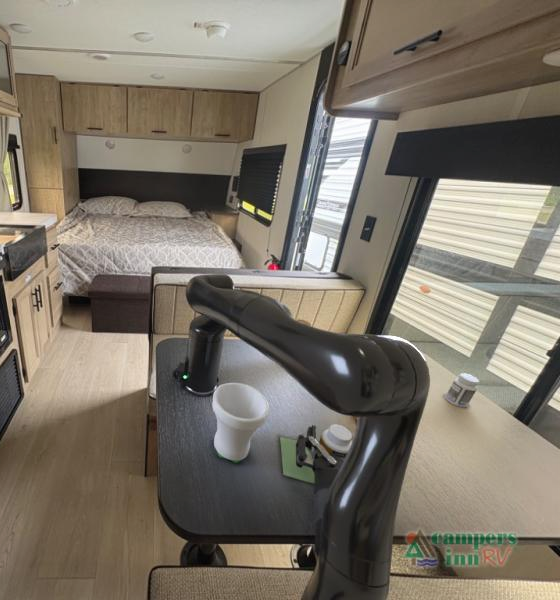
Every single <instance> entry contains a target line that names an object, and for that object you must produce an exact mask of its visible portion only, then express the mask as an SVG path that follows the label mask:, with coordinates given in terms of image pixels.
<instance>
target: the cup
mask: <svg viewBox="0 0 560 600" xmlns="http://www.w3.org/2000/svg"><path fill="white" fill-rule="evenodd" d="M212 411H213V413H214V414H215V417H216V422H217V423H216V425H217V426H216V432H215V434H214V438H213V445H214V449H215V450H216V453H217V455H218V457H219V458H220V459H226V460H229V461H231V462H232V463H234V464H238V463H239V462H241V461H242V460H244V459H246V458H247V456H248V455H249V453H250V448H251V440H252V437H253V435H254V434H255V432H256V431H257V430H258V429H259V428H262V426H264V424H265V423H266V421H267V418H268V414H269V411H270V405H269V402H268V399H267V398H266V397H265V396H264V395H263V393H261V392H260V391H259V390H258V389H256V388H255V387H252V386H251V385H248V384H247V383H242V382H226V383H222V384H220V385H218V386H217V387H216V390H215V391H214V393H213V396H212Z"/></svg>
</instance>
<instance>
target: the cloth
mask: <svg viewBox="0 0 560 600" xmlns="http://www.w3.org/2000/svg"><path fill="white" fill-rule="evenodd" d="M296 442H297V440H295V439H291V438H287V437H283V436H279V445H280V455H281V465H282V474H283V476H284V477H288V478H290V479H295V480H297V481H298V480H299V481H301V482H305V483H309V484H312V485H314V472H313V470H312V468H309V467H307V466H304V465H303V467H302V468H300V467H298V466H297V465H296ZM305 448H306V447H305ZM306 453H308V456H309V458H310V460H312V461H313V459H312V457H311V453H310V452H309V451H308V449H307V448H306Z"/></svg>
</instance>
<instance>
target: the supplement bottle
mask: <svg viewBox="0 0 560 600" xmlns="http://www.w3.org/2000/svg"><path fill="white" fill-rule="evenodd" d="M352 438H353V434H352V432H351V431H350V430H349V429H348V428H346V427H345V426H344V425H341V424H336V423H335V424H331V425H330V426H329V428H327V429H324V430H323V432H322V433H321V436H320V438H319V441H318V444H319V445H322V446H323V447H324V448H325V450H326V451H327V452H328V453H329V452H330V453H332V454H335V455H336V456H338V457H343V458H346V456H347V454H348V452H349V449H350V447H351V444H352V440H353V439H352ZM320 456H321V454H320ZM313 461H314V460H313Z"/></svg>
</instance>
